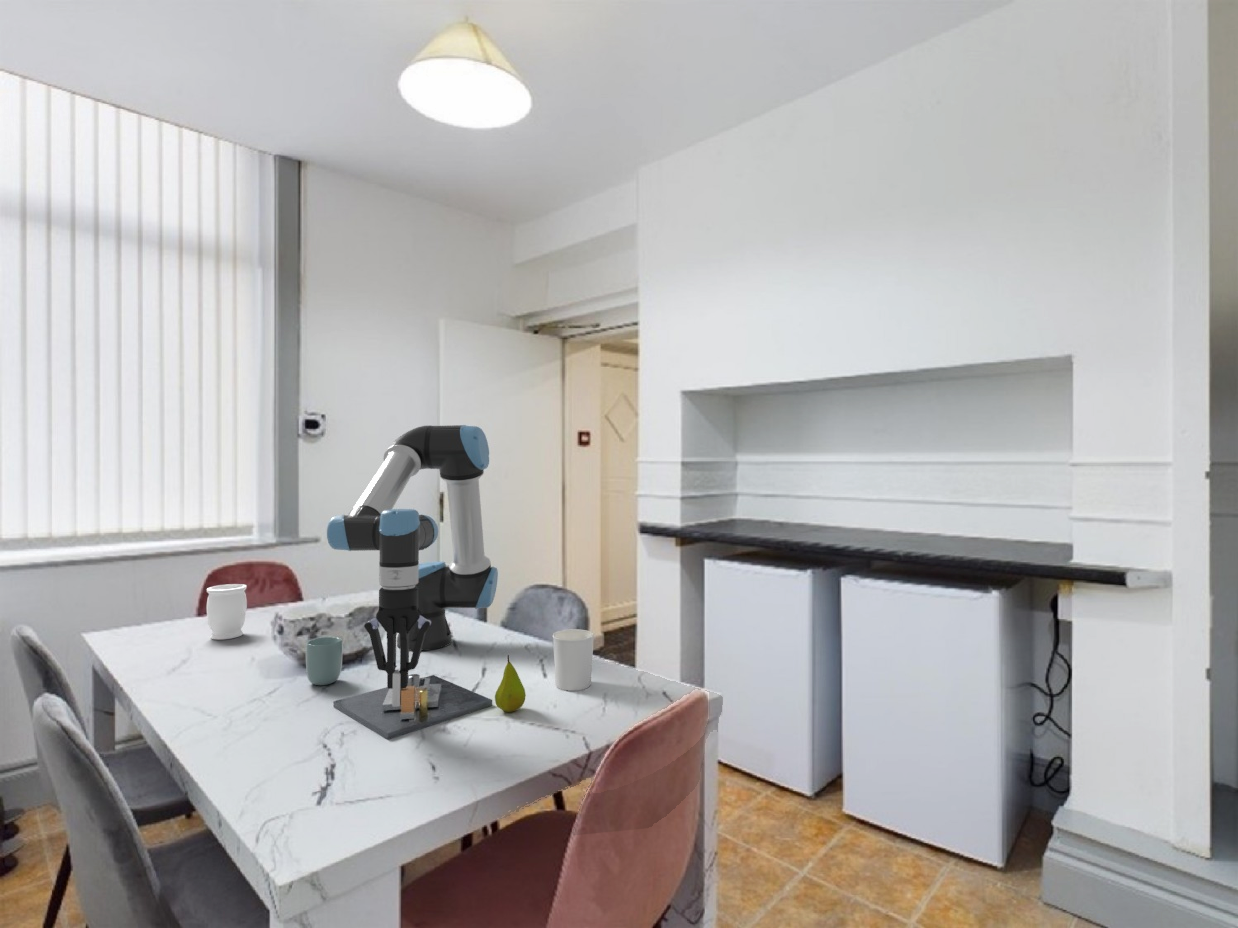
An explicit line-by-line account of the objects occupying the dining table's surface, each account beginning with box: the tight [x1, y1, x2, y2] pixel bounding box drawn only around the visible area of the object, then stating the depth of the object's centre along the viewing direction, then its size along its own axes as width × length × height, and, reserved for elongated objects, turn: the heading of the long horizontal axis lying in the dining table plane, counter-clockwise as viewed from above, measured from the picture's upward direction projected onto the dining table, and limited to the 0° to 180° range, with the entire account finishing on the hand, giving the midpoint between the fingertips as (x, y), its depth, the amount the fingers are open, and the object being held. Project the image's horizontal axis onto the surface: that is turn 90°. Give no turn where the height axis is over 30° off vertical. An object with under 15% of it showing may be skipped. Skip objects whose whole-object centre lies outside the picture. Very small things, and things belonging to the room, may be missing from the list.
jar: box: [206, 583, 248, 641], centre depth 196 cm, size 11×10×15 cm
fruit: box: [494, 655, 526, 713], centre depth 138 cm, size 6×6×12 cm
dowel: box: [419, 690, 427, 717], centre depth 132 cm, size 2×2×5 cm
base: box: [333, 673, 493, 740], centre depth 141 cm, size 24×24×6 cm
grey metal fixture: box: [382, 676, 441, 719], centre depth 138 cm, size 16×11×6 cm, turn 12°
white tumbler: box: [552, 628, 595, 692], centre depth 154 cm, size 10×10×12 cm
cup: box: [305, 636, 343, 686], centre depth 155 cm, size 8×8×10 cm
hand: (397, 703), depth 131 cm, fingers closed
